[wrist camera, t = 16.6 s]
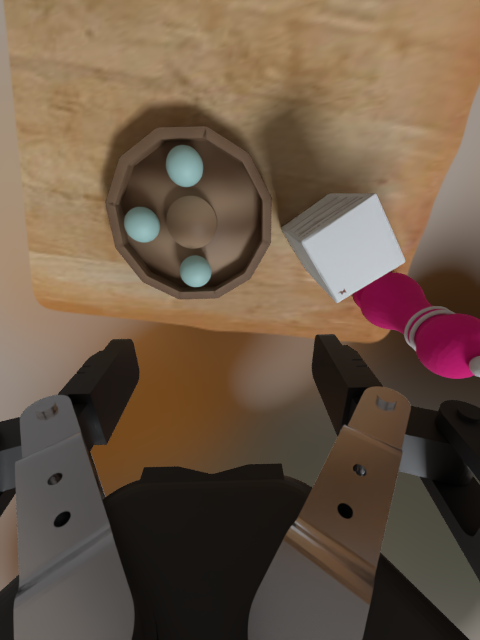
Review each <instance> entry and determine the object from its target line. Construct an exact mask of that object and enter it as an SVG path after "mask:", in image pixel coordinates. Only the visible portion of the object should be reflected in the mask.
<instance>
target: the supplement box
mask: <svg viewBox="0 0 480 640" xmlns="http://www.w3.org/2000/svg"><path fill="white" fill-rule="evenodd" d="M281 229H282V231H283V233H284V235H285V236H286V238H287V240H288V242H289V243H290V245H291V247H292V248H293V250H294V252H295V253H296V255H297V257H298V258H299V260H300V261H301V263H302V265H303V266H304V268H305V269H306V271H307V272H308V273H309V274H310V275H311V276H312V277H313V278H314V279H315V280H316V282H317V283H318V284H319V285H320V286H321V287H322V288H323V289H324V290H325V291H326V292H327V293H328V294H329V296H330V297H331V298H332V299H333V300H334V301H335V302H336V303H338V302H340V301H342V300H343V299H345V298H346V297H348V296H350V295H351V294H353V293H355V292H356V291H358V290H360V289H361V288H363V287H365V286H367V285H368V284H370V283H372V282H373V281H375V280H377V279H378V278H380V277H382V276H383V275H385V274H387V273H388V272H390V271H392V270H393V269H395V268H397V267H398V266H400V265H402V264H403V263H405V258H404V256H403V253H402V251H401V249H400V246H399V244H398V242H397V239H396V237H395V235H394V233H393V230H392V228H391V226H390V223H389V221H388V219H387V216H386V214H385V212H384V210H383V208H382V205H381V203H380V201H379V199H378V196H377V194H376V193H329V194H328V195H326V196H325V197H324V198H322V199H321V200H320V201H318V202H317V203H315V204H314V205H312V206H311V207H310V208H308V209H307V210H305V211H304V212H303V213H301V214H300V215H298V216H297V217H295V218H294V219H293V220H291V221H290V222H288V223H287V224H286V225H284V226H283V227H281Z"/></svg>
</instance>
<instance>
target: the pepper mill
mask: <svg viewBox="0 0 480 640" xmlns="http://www.w3.org/2000/svg"><path fill="white" fill-rule="evenodd" d="M353 298H354V301H355V303H356V304H357V305H358V306H359V307H360V308H361V311H362V313H363V315H364V316H365V318H366V319H367V320H368V321H370V322H371V323H372V324H374V325H376V326H378V327H381V328H385V329H391V330H397V331H400V332H401V333H403V334H404V337H405V340H406V342H407V343H408V344H409V345H410V346H411V347H412V348H413V349H414V350H416V353H417V356H418V358H419V360H420V361H421V362H422V363H423V365H424V366H425V367H426V368H428V369H429V370H431V371H432V372H434V373H435V374H438V375H440V376H443V377H447V378H455V379H458V378H466V377H471V376H474V375H476V376H478V377H480V320H479V319H477V318H475V317H473V316H470V315H465V314H456V313H454V312H452V311H450V310H448V309H447V308H445V307H441V306H432V305H430V304H429V302H428V301H427V300H426V297H425V295H424V293H423V290H422V289H421V287H420V286H419V285H418V284H417V282H416V281H414V280H413V279H412V278H410V277H408V276H407V275H404V274H401V273H392V272H388V273H387V274H385V275H383V276H382V277H380V278H378V279H377V280H375V281H373V282H372V283H370V284H368V285H367V286H365V287H363V288H361V289H360V290H358V291H356V292H355V293H353Z"/></svg>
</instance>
